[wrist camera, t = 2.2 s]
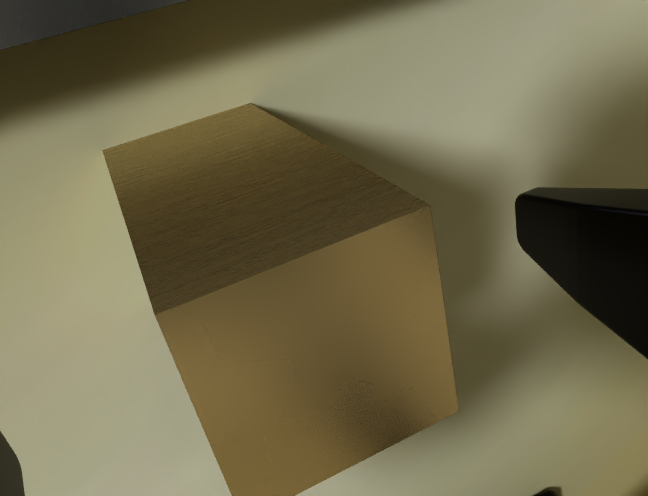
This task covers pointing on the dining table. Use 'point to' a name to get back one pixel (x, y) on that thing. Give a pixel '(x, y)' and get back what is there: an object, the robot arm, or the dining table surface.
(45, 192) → the dining table surface
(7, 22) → the grey peg hole board
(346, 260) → the wooden peg
